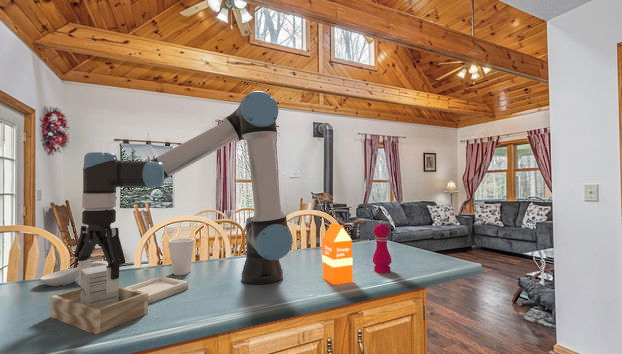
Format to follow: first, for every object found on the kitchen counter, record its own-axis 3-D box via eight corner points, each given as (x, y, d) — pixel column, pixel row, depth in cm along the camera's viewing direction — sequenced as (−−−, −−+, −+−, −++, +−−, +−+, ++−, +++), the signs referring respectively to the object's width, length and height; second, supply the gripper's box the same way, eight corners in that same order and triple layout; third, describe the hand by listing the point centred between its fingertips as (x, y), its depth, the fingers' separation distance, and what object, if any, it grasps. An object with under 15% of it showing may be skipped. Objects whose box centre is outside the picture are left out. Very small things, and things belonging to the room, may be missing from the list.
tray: (188, 288, 101) (188, 281, 101) (149, 303, 89) (149, 295, 89) (161, 283, 108) (161, 276, 108) (121, 296, 95) (121, 288, 95)
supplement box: (79, 315, 81) (79, 269, 82) (111, 307, 87) (111, 263, 87) (85, 324, 76) (85, 274, 77) (119, 314, 82) (119, 267, 82)
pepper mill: (394, 270, 119) (393, 219, 120) (388, 275, 113) (387, 221, 114) (376, 267, 123) (375, 218, 124) (370, 272, 117) (369, 220, 117)
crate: (147, 313, 82) (147, 293, 82) (95, 334, 71) (95, 311, 71) (102, 300, 92) (102, 282, 92) (50, 316, 81) (50, 296, 81)
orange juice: (333, 285, 103) (332, 226, 103) (322, 277, 111) (321, 223, 111) (353, 281, 106) (352, 225, 107) (340, 274, 114) (339, 222, 115)
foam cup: (198, 269, 124) (198, 238, 125) (186, 276, 115) (186, 242, 116) (176, 269, 125) (176, 238, 126) (163, 276, 116) (163, 242, 116)
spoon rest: (32, 291, 102) (32, 270, 102) (50, 280, 113) (50, 261, 113) (112, 283, 109) (112, 263, 109) (122, 274, 120) (122, 256, 120)
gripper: (141, 209, 80) (139, 290, 79) (90, 206, 91) (88, 277, 91) (111, 211, 73) (109, 300, 72) (60, 208, 85) (58, 284, 84)
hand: (98, 287), depth 82 cm, fingers open, 13 cm apart
